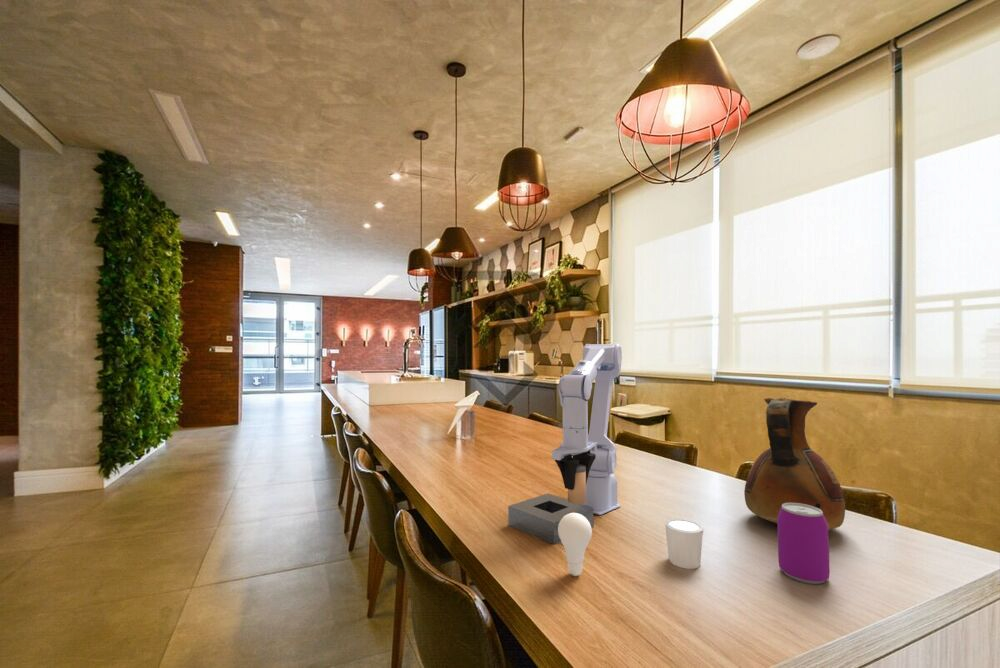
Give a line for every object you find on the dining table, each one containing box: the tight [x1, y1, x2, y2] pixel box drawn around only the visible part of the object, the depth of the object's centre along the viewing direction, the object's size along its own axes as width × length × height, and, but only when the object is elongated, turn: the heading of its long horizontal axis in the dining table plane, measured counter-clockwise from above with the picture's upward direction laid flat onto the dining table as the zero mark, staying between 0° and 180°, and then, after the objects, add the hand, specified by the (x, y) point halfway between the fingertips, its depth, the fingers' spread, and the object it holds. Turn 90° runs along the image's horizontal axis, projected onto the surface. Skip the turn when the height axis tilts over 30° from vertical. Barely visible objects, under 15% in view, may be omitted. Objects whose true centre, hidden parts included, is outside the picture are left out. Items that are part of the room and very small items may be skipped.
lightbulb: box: [558, 513, 593, 577], centre depth 80 cm, size 6×6×11 cm
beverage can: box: [777, 503, 831, 585], centre depth 80 cm, size 8×8×12 cm
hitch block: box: [507, 493, 594, 545], centre depth 102 cm, size 14×14×4 cm
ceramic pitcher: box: [743, 397, 846, 531], centre depth 104 cm, size 20×20×30 cm
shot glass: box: [664, 518, 704, 570], centre depth 85 cm, size 7×7×7 cm
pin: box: [567, 464, 586, 504], centre depth 100 cm, size 4×4×8 cm
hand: (575, 486), depth 100 cm, fingers closed on pin, 4 cm apart
